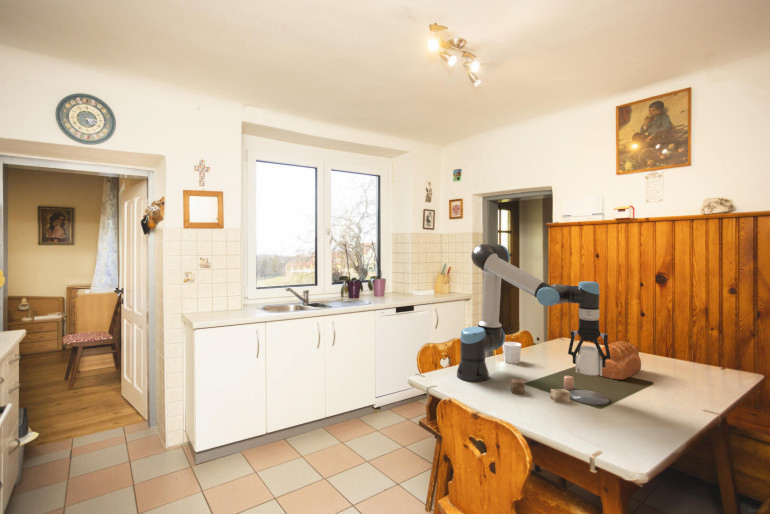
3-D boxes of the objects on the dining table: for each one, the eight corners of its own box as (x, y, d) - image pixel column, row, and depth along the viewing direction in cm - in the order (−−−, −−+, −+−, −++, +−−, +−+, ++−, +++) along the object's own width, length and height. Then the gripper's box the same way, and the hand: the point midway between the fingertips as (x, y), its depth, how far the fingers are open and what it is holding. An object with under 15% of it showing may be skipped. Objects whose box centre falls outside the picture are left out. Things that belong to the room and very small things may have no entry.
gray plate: (566, 400, 159) (566, 398, 159) (569, 389, 172) (569, 387, 172) (609, 408, 152) (609, 406, 152) (608, 395, 165) (608, 393, 165)
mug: (586, 378, 156) (586, 352, 155) (568, 372, 163) (568, 348, 163) (604, 373, 162) (604, 349, 161) (585, 368, 169) (585, 344, 169)
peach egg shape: (563, 388, 173) (563, 377, 173) (564, 386, 176) (564, 375, 176) (573, 390, 171) (573, 379, 171) (574, 387, 174) (574, 376, 174)
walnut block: (512, 393, 167) (512, 382, 167) (510, 389, 172) (510, 378, 172) (524, 394, 166) (524, 382, 166) (522, 390, 171) (522, 379, 171)
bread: (591, 374, 193) (592, 343, 192) (614, 365, 209) (614, 336, 209) (622, 382, 182) (623, 349, 182) (643, 371, 198) (644, 341, 198)
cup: (523, 364, 210) (523, 346, 210) (505, 364, 210) (505, 346, 210) (517, 359, 220) (517, 341, 220) (499, 359, 220) (500, 341, 220)
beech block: (555, 402, 158) (555, 392, 158) (550, 398, 162) (550, 389, 162) (569, 402, 158) (569, 392, 158) (564, 398, 162) (564, 388, 162)
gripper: (560, 318, 163) (560, 371, 164) (618, 322, 153) (618, 379, 153) (562, 315, 170) (561, 367, 170) (618, 319, 159) (618, 374, 160)
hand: (588, 373), depth 162 cm, fingers closed on mug, 8 cm apart
